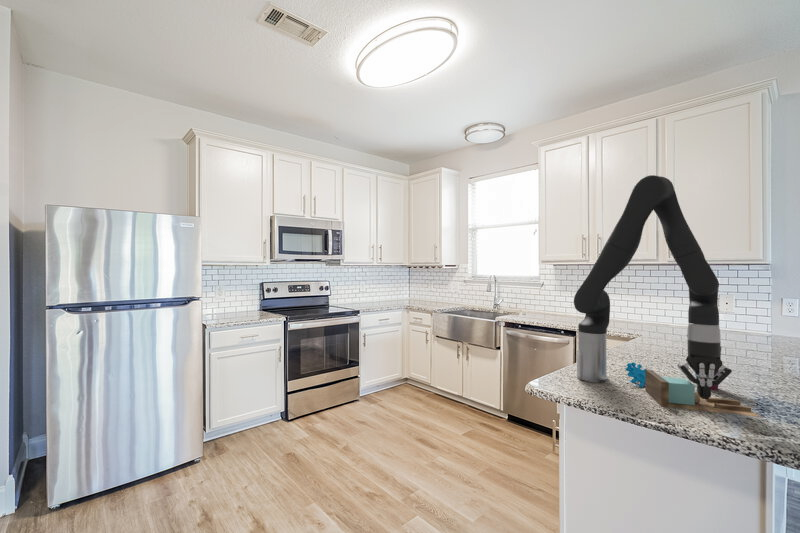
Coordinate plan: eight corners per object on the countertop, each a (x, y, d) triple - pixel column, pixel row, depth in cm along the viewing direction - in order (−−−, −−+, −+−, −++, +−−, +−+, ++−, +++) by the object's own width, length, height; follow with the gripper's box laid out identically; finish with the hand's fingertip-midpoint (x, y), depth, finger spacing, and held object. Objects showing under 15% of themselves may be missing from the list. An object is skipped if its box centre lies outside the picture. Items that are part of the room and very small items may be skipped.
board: (661, 409, 105) (661, 381, 105) (645, 393, 118) (645, 369, 119) (762, 420, 98) (761, 390, 98) (733, 402, 111) (733, 376, 111)
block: (666, 402, 108) (666, 382, 108) (657, 394, 114) (657, 376, 114) (694, 405, 106) (694, 385, 106) (684, 397, 112) (684, 378, 112)
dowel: (667, 400, 109) (667, 390, 109) (664, 398, 112) (663, 388, 112) (700, 404, 107) (699, 393, 107) (695, 401, 109) (695, 391, 110)
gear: (637, 386, 121) (622, 359, 128) (626, 394, 125) (612, 368, 132) (665, 389, 123) (648, 362, 130) (652, 397, 127) (637, 371, 134)
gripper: (682, 340, 106) (682, 400, 106) (738, 342, 102) (739, 405, 102) (672, 335, 114) (672, 392, 113) (724, 338, 110) (724, 396, 109)
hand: (704, 398), depth 108 cm, fingers closed
